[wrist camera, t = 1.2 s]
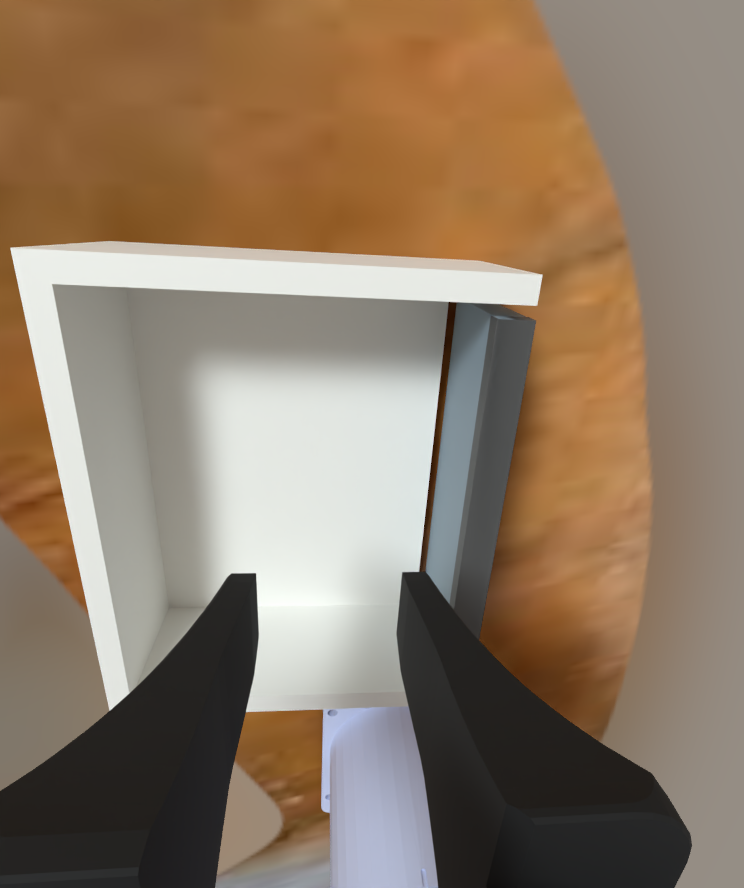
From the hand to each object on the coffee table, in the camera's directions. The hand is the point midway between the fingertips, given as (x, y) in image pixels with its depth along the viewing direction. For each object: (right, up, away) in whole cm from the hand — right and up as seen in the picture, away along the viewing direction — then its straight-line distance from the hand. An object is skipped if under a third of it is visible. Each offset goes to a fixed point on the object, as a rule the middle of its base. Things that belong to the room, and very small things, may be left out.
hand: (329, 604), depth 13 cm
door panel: (+4, +3, +8) cm, 10 cm away
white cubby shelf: (-2, +4, +9) cm, 9 cm away
